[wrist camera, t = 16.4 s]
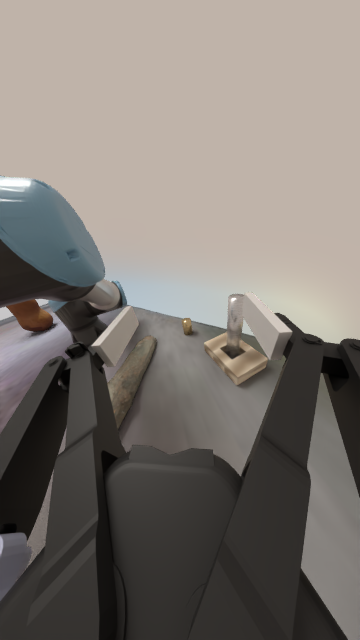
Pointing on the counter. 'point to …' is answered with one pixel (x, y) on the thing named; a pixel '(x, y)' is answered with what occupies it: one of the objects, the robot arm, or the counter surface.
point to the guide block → (235, 359)
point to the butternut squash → (31, 316)
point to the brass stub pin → (187, 326)
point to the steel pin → (234, 325)
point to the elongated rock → (130, 378)
